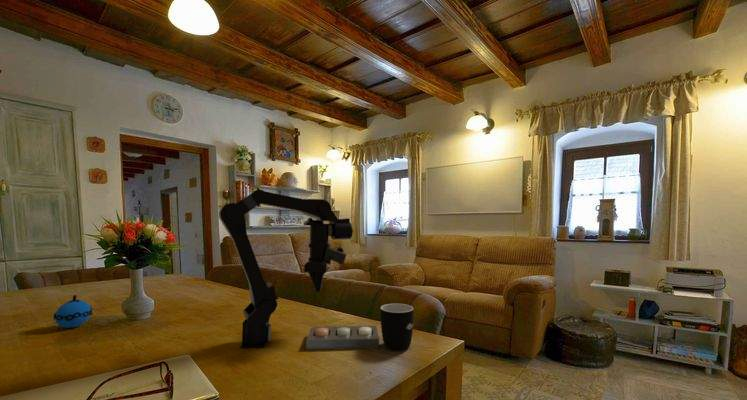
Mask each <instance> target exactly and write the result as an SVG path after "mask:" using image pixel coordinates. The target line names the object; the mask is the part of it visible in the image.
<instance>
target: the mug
mask: <svg viewBox="0 0 747 400" xmlns="http://www.w3.org/2000/svg"><path fill="white" fill-rule="evenodd" d="M379 313H380V314H379V315H380V327H381V336H382V341H383V344H384V347H385V348H386V349H387V350H390V351H391V352H393V351H394V352H402V351H406V350H408V349H409V348H410V345H411V344H412V339H413V333H414V321H415V320H414V318H415V317H414V316H415V315H414V314H415V312H414V307H413V306H412V305H409V304H405V303H387V304H382V305H381V306H380V312H379Z"/></svg>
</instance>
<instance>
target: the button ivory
mask: <svg viewBox="0 0 747 400" xmlns="http://www.w3.org/2000/svg"><path fill="white" fill-rule="evenodd" d="M359 335H371V328H370V327H361V328H359Z"/></svg>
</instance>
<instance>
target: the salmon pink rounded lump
mask: <svg viewBox="0 0 747 400" xmlns="http://www.w3.org/2000/svg"><path fill="white" fill-rule="evenodd" d="M315 336H328V328H318V329H316V330H315Z"/></svg>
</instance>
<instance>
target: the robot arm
mask: <svg viewBox="0 0 747 400" xmlns="http://www.w3.org/2000/svg"><path fill="white" fill-rule="evenodd" d="M259 205H262V206H268V207H272V208H273V207H274V208H278V209H283V210H284V209H285V210H289V211H295V212H298V213H301V214H303V215H304V216H308V218H307V219H306V221H304V222H303V226H309V243H308V248H309V257H308V260H307V262H306V263H305V264H304V266H303V269H304V270H303V271H304V273H308V274H309V276H310V279H311V282H312V284H313V286H314V289H315V291H316V292H317V293H320V292H321V290H322V286H323V281H324V276H325V274H326V273H327V272H328V271H329V269H330V266H331V264H332V262H335V263H338V265H343V266H344V263H345V261H346V258H347V256H348V254H347V253H346V252H344V248H342V247H340V246H339V247H337V249H335V248H332V247H331V244H330V241H329V238H331V239H332V241H335V240H337V241H338V240H339V241H340V240H351V239H352V237H353V233H354V232H353V231H354V230H353V226H352V223H351V220H350V218H338V216H336V214H335V213H334V211H333V210H332V206H331V203H330V202H329V201H328V200H326V199H324V198H322V199H321V198H299V197H296V196H295V197H294V196H290V195H285V194H284V195H283V194H280V193H275V192H269V191H266V190H264V189H255V190H254V191H252V192H251V193H250V194H249V195H246V196H245V197H244V198H242V199H240V200H239V201H237V202H236V203H233V202H231V203H227V204H224V205H223V206H222V207H221V208H220V209H219V211H218V219H219V221H220V222H221V224H222V225H223V227H224V229H225V230H226V232H227V234H228V235H229V236H230V238H231V239H232V242H233V244H234V245H233V246H234V247H235V250H236V252H237V256H238V258H239V260H240V263H241V266H242V269H243V271H244V273H245V276H246V279H247V282H248V287H249V294H250V303H249V304H247V306H246V307H245V308H244V309H243V310H242V313H243V315H244V317H245V319H244V320H243V321H242V327H241V328H242V329H241V330H242V331H241V332H242V335H241V337H242V338H241V343H240V345H239V348H243V349H244V348H245V349H247V348H264V347H266V345H268V343H269V342H270V340H271V337H272V334H271V333H272V325H271V323H270V318H271V316H272V314H273V313H275V311H276V309H277V307H278V301H277V300H279V297H278V296H277V295H276V291H275V290H276V289H275V285H273V284H272V283H271V282H270V281H268V282H267V283H266V281H265V279H264V277H263V275H262V272H261V269H260V266H259V263H258V261H257V259H256V255H255V253H254V249H253V248H252V245H251V242H250V240H249V236H248V233H247V232H248V231H247V224H246V216H245V215H246V214H247V213H249V212H251V211H253V209H255V208H256V207H258V206H259ZM318 219H319V220H318ZM324 222H328V223H324ZM328 265H330V266H328Z"/></svg>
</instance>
